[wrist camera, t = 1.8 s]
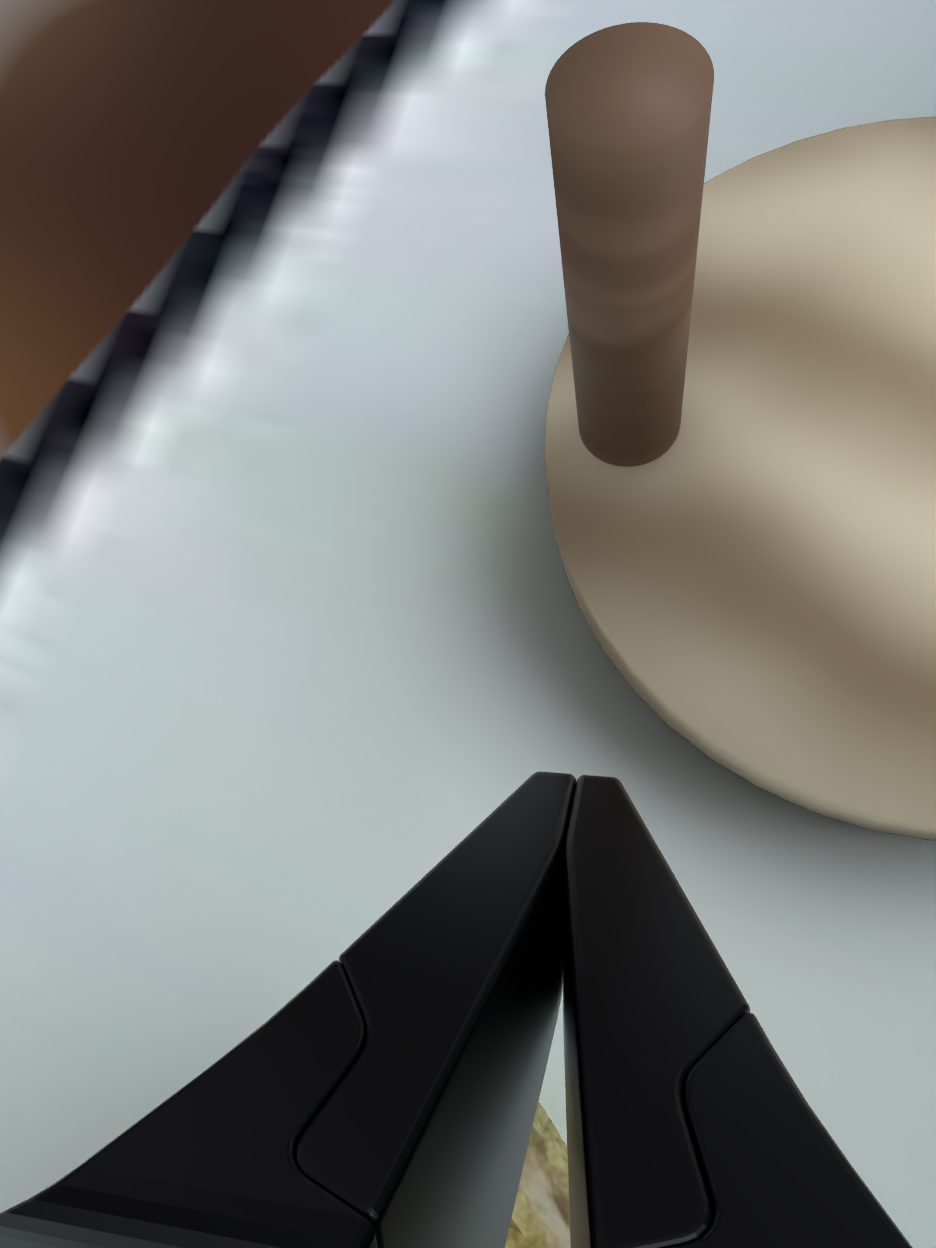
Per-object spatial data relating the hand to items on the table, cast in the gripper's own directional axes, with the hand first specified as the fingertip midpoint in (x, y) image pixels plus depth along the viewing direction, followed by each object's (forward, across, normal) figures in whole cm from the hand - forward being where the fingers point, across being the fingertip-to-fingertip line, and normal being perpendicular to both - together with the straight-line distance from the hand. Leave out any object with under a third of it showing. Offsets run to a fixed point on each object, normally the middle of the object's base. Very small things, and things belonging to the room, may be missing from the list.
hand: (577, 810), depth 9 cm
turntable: (+15, -7, +1) cm, 17 cm away
